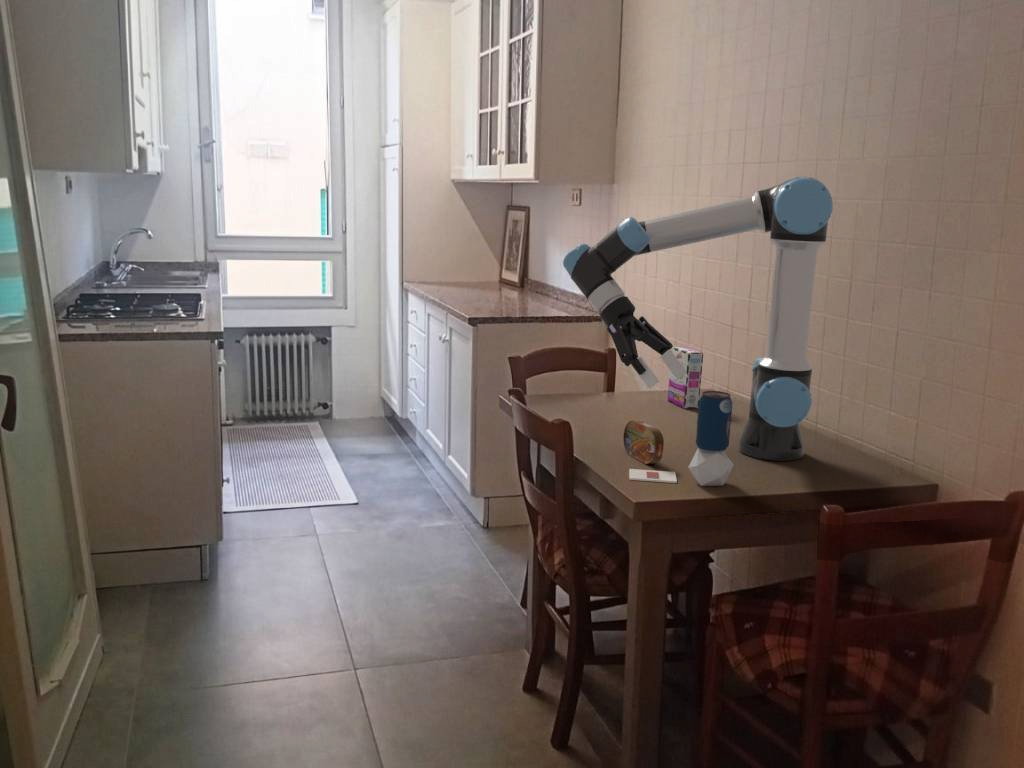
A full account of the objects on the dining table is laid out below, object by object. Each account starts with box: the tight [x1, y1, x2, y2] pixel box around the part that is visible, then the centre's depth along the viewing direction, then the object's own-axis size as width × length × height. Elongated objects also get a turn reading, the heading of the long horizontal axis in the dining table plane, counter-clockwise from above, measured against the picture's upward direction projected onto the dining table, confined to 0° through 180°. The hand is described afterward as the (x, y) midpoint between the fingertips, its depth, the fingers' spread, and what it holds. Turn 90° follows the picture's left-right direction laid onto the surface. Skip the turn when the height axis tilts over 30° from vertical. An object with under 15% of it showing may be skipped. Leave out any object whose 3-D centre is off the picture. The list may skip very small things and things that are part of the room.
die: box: [688, 447, 734, 487], centre depth 204 cm, size 8×9×10 cm
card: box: [628, 468, 678, 484], centre depth 208 cm, size 10×7×1 cm
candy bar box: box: [667, 346, 704, 410], centre depth 278 cm, size 11×5×16 cm, turn 17°
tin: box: [622, 420, 665, 465], centre depth 221 cm, size 15×3×8 cm, turn 21°
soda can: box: [695, 390, 733, 453], centre depth 202 cm, size 7×7×12 cm
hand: (668, 380), depth 210 cm, fingers open, 13 cm apart
